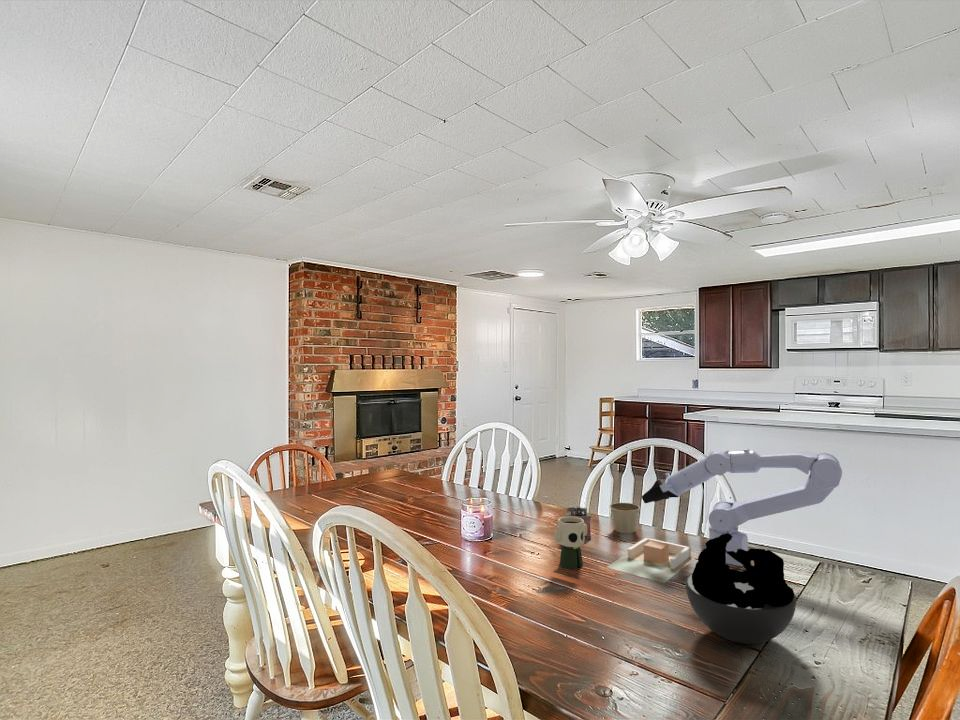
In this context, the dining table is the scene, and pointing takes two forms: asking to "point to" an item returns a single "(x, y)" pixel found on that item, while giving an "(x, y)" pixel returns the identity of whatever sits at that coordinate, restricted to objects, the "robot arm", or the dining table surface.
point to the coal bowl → (741, 593)
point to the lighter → (584, 516)
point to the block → (656, 551)
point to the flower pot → (624, 517)
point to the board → (648, 567)
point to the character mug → (570, 541)
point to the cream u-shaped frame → (679, 550)
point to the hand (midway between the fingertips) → (647, 499)
